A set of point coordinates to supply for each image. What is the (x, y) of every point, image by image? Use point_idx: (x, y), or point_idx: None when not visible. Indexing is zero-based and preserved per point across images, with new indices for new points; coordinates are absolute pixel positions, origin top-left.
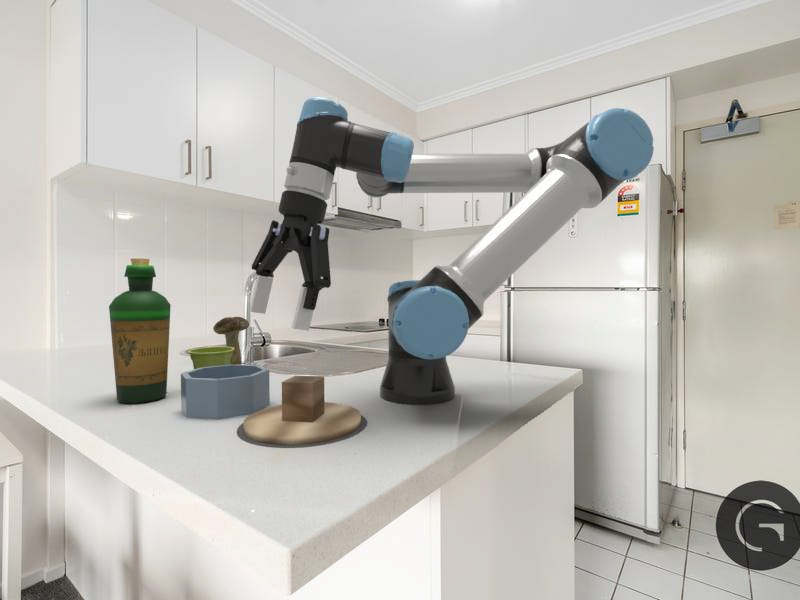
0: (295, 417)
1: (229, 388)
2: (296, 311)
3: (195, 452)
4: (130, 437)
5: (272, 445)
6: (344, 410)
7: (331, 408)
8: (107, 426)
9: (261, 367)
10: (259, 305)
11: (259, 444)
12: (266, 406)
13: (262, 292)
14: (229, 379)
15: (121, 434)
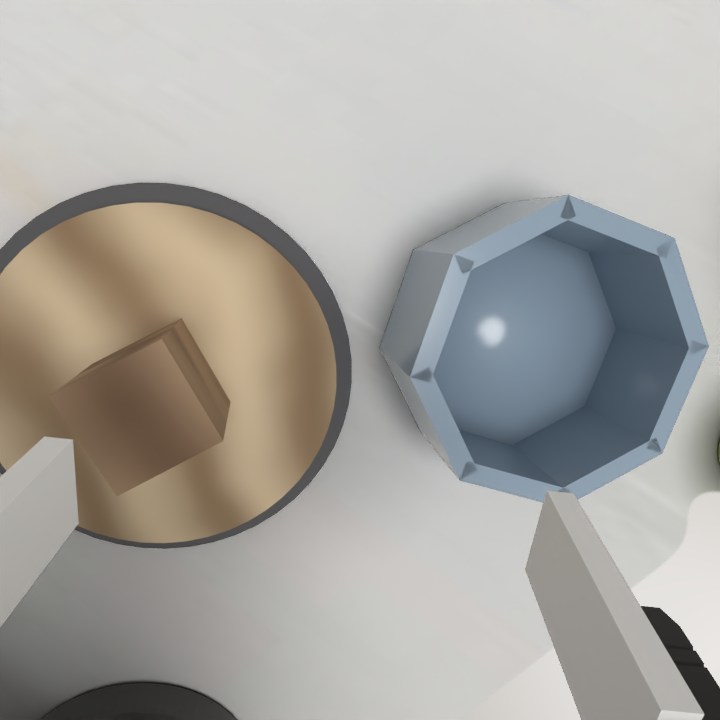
0: (139, 340)
1: (429, 292)
2: (4, 494)
3: (226, 68)
4: (488, 24)
5: (77, 208)
6: (119, 502)
7: (169, 491)
8: (637, 33)
9: (521, 487)
10: (551, 559)
11: (113, 192)
12: (414, 417)
13: (583, 632)
14: (437, 295)
15: (534, 22)
